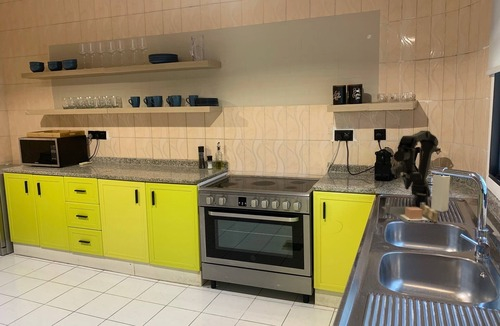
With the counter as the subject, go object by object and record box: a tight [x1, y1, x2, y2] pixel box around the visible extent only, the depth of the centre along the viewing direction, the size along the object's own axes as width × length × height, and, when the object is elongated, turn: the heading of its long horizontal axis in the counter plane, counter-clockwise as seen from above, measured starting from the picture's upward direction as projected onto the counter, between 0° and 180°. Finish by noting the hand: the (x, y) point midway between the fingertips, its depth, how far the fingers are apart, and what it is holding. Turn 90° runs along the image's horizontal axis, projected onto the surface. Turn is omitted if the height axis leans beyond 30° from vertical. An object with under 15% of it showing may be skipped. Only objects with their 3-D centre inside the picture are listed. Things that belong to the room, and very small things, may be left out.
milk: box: [430, 174, 451, 213], centre depth 212 cm, size 6×6×22 cm
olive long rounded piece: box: [384, 202, 425, 216], centre depth 205 cm, size 21×2×6 cm, turn 93°
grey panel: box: [381, 206, 435, 224], centre depth 205 cm, size 16×30×1 cm, turn 3°
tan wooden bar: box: [422, 204, 439, 223], centre depth 196 cm, size 15×2×4 cm, turn 177°
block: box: [404, 206, 423, 219], centre depth 198 cm, size 6×6×4 cm
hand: (406, 189), depth 209 cm, fingers closed
